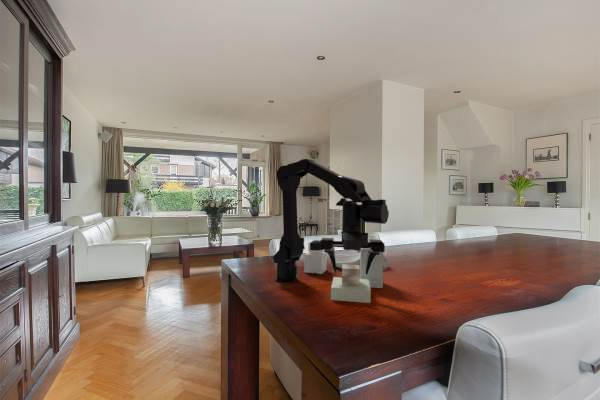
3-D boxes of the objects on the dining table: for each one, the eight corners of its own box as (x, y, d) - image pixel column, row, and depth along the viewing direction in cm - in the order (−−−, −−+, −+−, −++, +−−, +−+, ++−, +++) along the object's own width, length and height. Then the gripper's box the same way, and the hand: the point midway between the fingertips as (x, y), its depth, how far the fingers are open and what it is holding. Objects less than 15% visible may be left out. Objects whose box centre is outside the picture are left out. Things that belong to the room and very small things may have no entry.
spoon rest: (335, 272, 116) (336, 253, 116) (328, 265, 127) (328, 248, 127) (392, 270, 119) (393, 253, 119) (380, 263, 131) (380, 247, 131)
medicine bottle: (326, 270, 118) (327, 240, 118) (322, 274, 111) (322, 242, 111) (309, 268, 120) (309, 238, 120) (304, 272, 113) (304, 241, 113)
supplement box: (383, 288, 95) (383, 249, 95) (359, 286, 97) (360, 248, 97) (381, 282, 103) (382, 245, 102) (359, 280, 104) (360, 244, 104)
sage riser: (330, 301, 85) (331, 287, 84) (333, 289, 95) (333, 277, 95) (370, 304, 83) (370, 290, 83) (368, 291, 93) (368, 279, 93)
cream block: (341, 285, 87) (342, 268, 87) (342, 280, 92) (342, 264, 92) (359, 286, 86) (359, 269, 86) (358, 281, 91) (359, 265, 91)
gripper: (318, 223, 82) (317, 279, 82) (387, 225, 79) (386, 283, 80) (321, 219, 93) (320, 269, 93) (382, 221, 90) (381, 272, 91)
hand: (350, 273), depth 89 cm, fingers open, 9 cm apart
